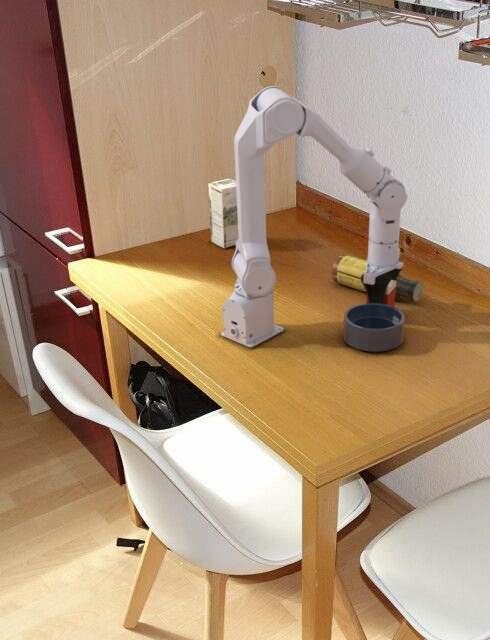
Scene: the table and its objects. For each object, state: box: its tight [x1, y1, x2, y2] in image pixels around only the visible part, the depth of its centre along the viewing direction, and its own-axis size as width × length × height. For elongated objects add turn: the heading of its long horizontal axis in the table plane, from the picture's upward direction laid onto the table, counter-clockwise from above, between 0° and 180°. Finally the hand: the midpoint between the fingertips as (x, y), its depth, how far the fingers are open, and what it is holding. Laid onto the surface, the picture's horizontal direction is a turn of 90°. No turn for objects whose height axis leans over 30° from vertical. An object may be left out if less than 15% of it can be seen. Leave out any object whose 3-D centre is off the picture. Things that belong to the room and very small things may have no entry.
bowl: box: [342, 302, 406, 353], centre depth 154 cm, size 11×11×5 cm
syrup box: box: [207, 178, 239, 250], centre depth 192 cm, size 6×6×14 cm
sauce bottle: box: [330, 254, 424, 302], centre depth 172 cm, size 7×6×20 cm
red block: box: [366, 280, 396, 308], centre depth 162 cm, size 4×4×6 cm
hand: (380, 304), depth 163 cm, fingers closed on red block, 4 cm apart
